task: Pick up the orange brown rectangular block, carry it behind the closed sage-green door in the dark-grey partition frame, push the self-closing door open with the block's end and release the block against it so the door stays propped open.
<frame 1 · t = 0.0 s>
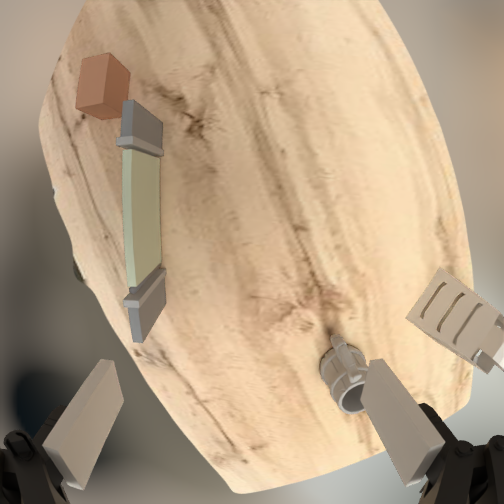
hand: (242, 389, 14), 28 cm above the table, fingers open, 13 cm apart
mug: (337, 352, 45), on the table
orange brown rectangular block: (115, 95, 35), on the table
grater: (438, 306, 45), on the table
door: (140, 217, 33), point 6 cm above the table, hinge at 0.0°
frame: (157, 213, 39), on the table
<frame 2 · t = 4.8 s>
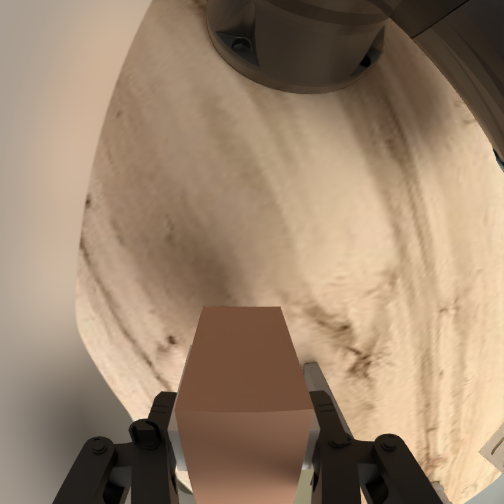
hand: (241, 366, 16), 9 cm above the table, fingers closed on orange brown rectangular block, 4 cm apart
mug: (423, 488, 34), on the table
orange brown rectangular block: (241, 363, 16), point 8 cm above the table, touching gripper
grater: (501, 434, 34), on the table
door: (303, 489, 22), point 6 cm above the table, hinge at 0.0°
frame: (298, 450, 28), on the table
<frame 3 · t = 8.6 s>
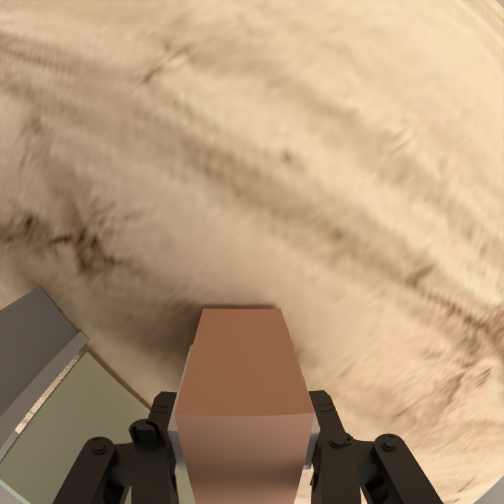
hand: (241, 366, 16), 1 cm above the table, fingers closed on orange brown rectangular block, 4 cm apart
orange brown rectangular block: (241, 365, 16), point 1 cm above the table, touching gripper
door: (143, 489, 12), point 6 cm above the table, hinge at 0.0°
frame: (165, 423, 18), on the table
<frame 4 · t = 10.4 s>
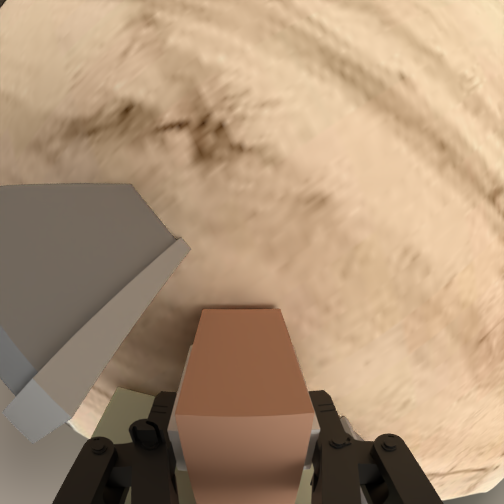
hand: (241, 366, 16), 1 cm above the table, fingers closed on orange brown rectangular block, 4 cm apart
orange brown rectangular block: (241, 365, 16), point 1 cm above the table, touching gripper
door: (226, 485, 12), point 6 cm above the table, hinge at 40.3°
frame: (269, 359, 17), on the table
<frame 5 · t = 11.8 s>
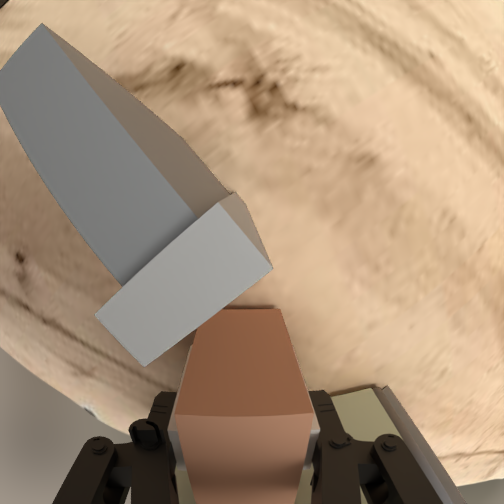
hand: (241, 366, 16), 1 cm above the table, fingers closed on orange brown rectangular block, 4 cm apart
orange brown rectangular block: (241, 365, 16), point 1 cm above the table, touching door, gripper
door: (284, 481, 12), point 6 cm above the table, hinge at 57.3°, touching orange brown rectangular block
frame: (320, 323, 16), on the table
when the fingers open (1 cm above the table, at t = 12.4 s): orange brown rectangular block stays where it is, on the table.
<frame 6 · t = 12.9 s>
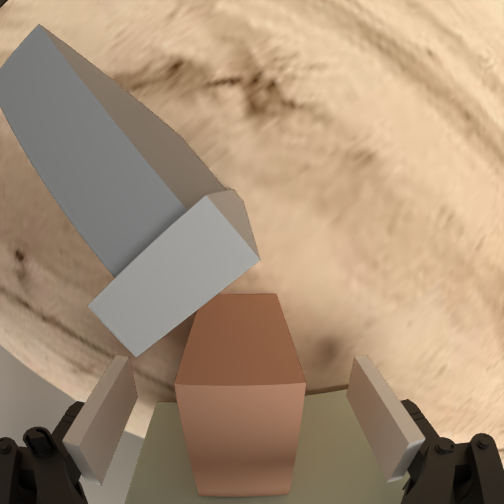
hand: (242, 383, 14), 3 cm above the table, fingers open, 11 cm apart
orange brown rectangular block: (240, 349, 17), on the table
door: (281, 475, 12), point 6 cm above the table, hinge at 54.2°
frame: (318, 319, 17), on the table
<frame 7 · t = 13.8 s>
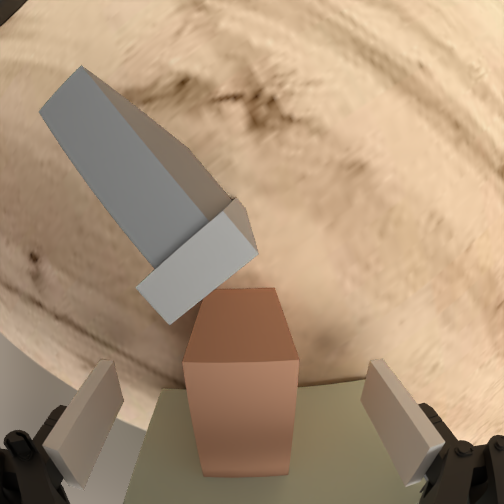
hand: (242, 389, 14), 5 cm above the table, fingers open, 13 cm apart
orange brown rectangular block: (242, 341, 18), on the table, touching door
door: (280, 458, 13), point 6 cm above the table, hinge at 51.5°, touching orange brown rectangular block
frame: (315, 317, 18), on the table
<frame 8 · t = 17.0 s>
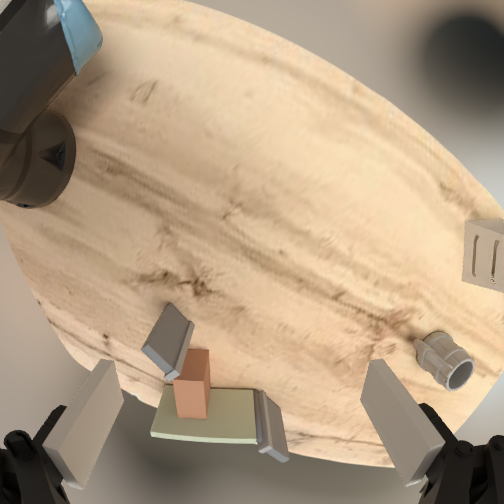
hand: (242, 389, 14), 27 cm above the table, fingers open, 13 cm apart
mug: (425, 344, 45), on the table
orange brown rectangular block: (196, 368, 43), on the table, touching door
grater: (481, 248, 41), on the table
door: (208, 415, 38), point 6 cm above the table, hinge at 48.5°, touching orange brown rectangular block
frame: (226, 363, 43), on the table
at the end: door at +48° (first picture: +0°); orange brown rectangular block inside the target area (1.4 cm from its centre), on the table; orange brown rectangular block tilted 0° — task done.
